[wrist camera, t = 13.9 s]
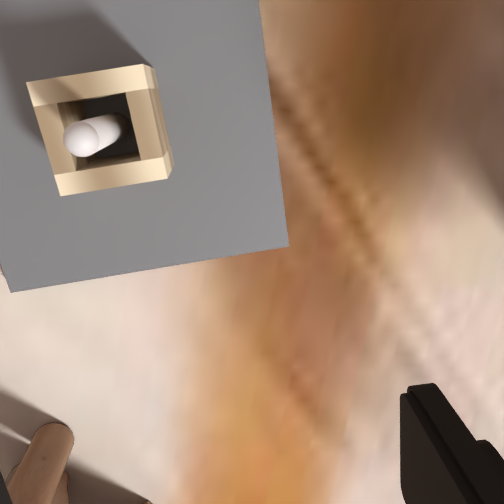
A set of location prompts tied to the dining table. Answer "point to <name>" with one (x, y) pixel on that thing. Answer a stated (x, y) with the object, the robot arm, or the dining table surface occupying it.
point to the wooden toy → (43, 468)
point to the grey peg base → (124, 140)
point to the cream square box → (72, 110)
